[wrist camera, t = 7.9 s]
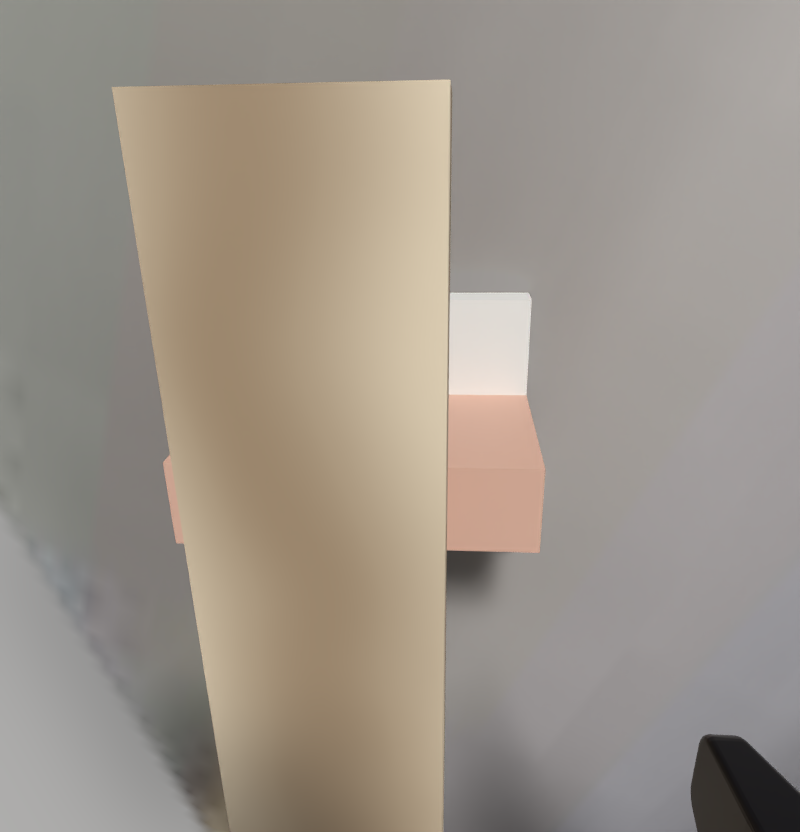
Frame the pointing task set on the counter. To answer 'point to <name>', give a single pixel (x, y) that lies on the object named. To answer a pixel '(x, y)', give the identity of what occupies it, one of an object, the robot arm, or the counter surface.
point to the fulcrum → (482, 429)
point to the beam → (307, 429)
